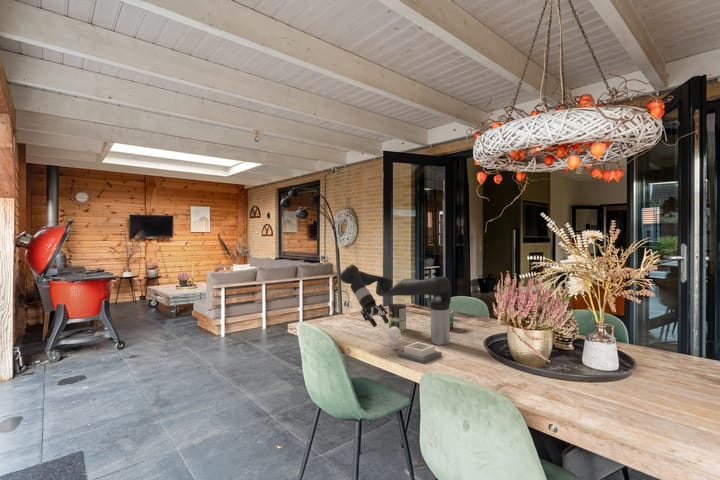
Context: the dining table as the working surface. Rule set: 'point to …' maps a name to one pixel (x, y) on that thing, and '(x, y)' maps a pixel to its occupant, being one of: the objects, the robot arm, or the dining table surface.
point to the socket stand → (419, 352)
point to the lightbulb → (394, 336)
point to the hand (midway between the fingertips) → (381, 324)
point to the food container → (451, 318)
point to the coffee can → (397, 316)
